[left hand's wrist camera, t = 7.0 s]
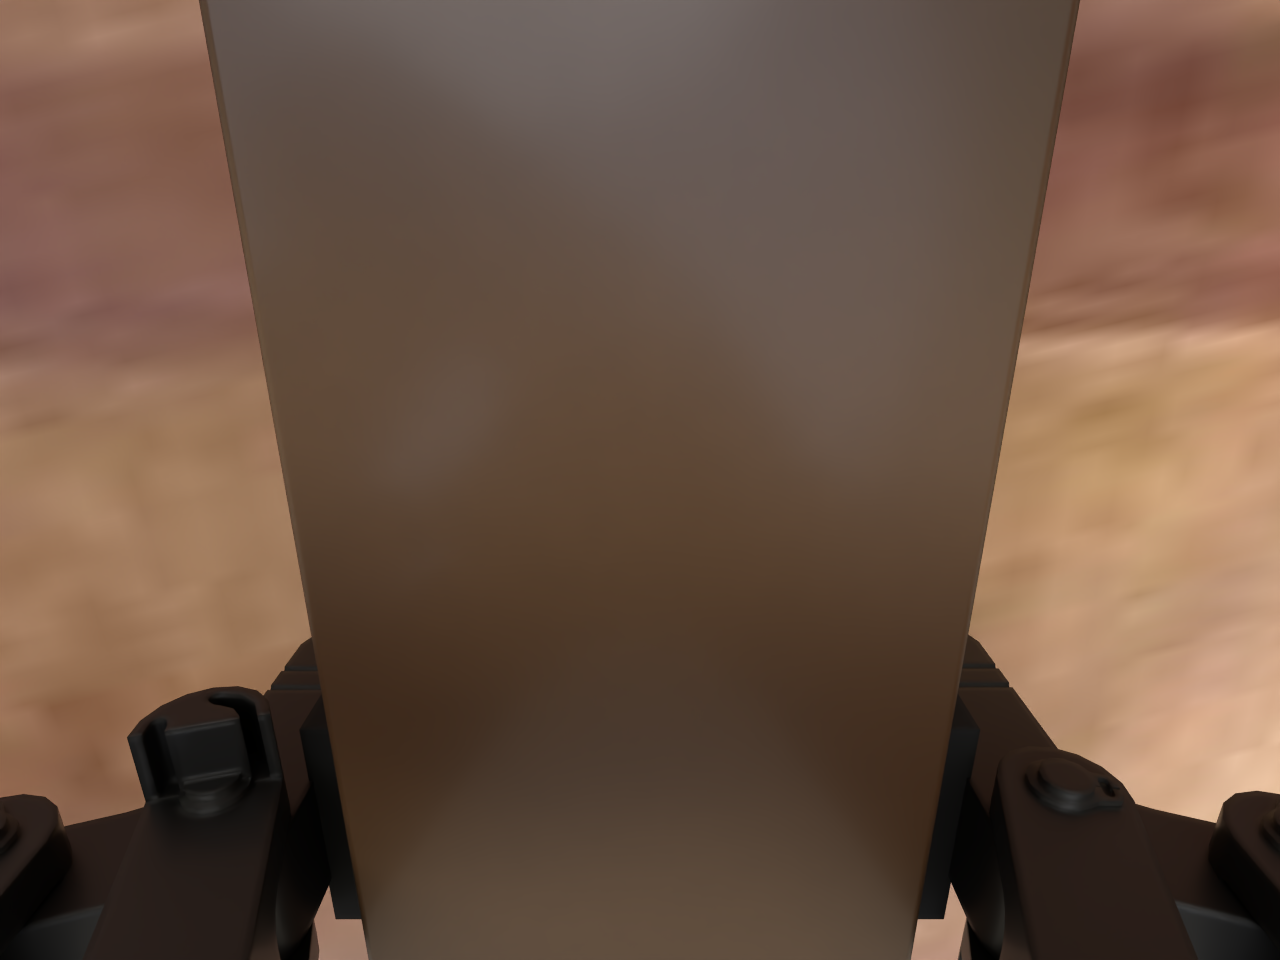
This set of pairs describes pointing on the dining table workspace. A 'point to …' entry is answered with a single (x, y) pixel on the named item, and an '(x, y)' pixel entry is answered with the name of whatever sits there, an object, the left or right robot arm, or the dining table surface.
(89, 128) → the dining table surface
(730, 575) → the post
